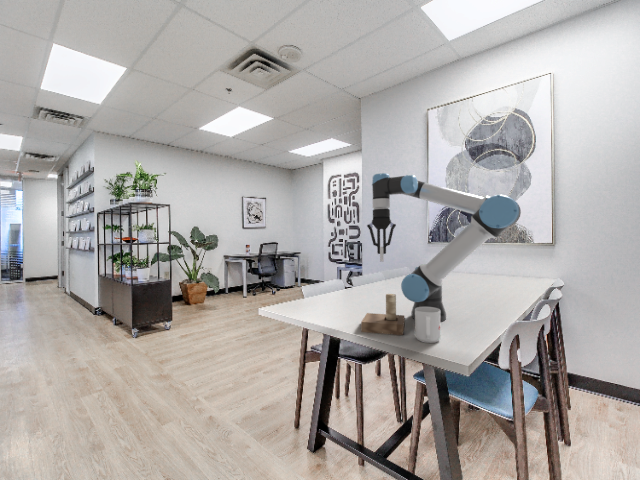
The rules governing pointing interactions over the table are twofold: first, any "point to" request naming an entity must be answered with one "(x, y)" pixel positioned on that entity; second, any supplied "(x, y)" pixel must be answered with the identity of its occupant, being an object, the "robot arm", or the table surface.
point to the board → (382, 324)
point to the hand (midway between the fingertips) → (381, 261)
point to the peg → (390, 307)
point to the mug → (427, 324)
